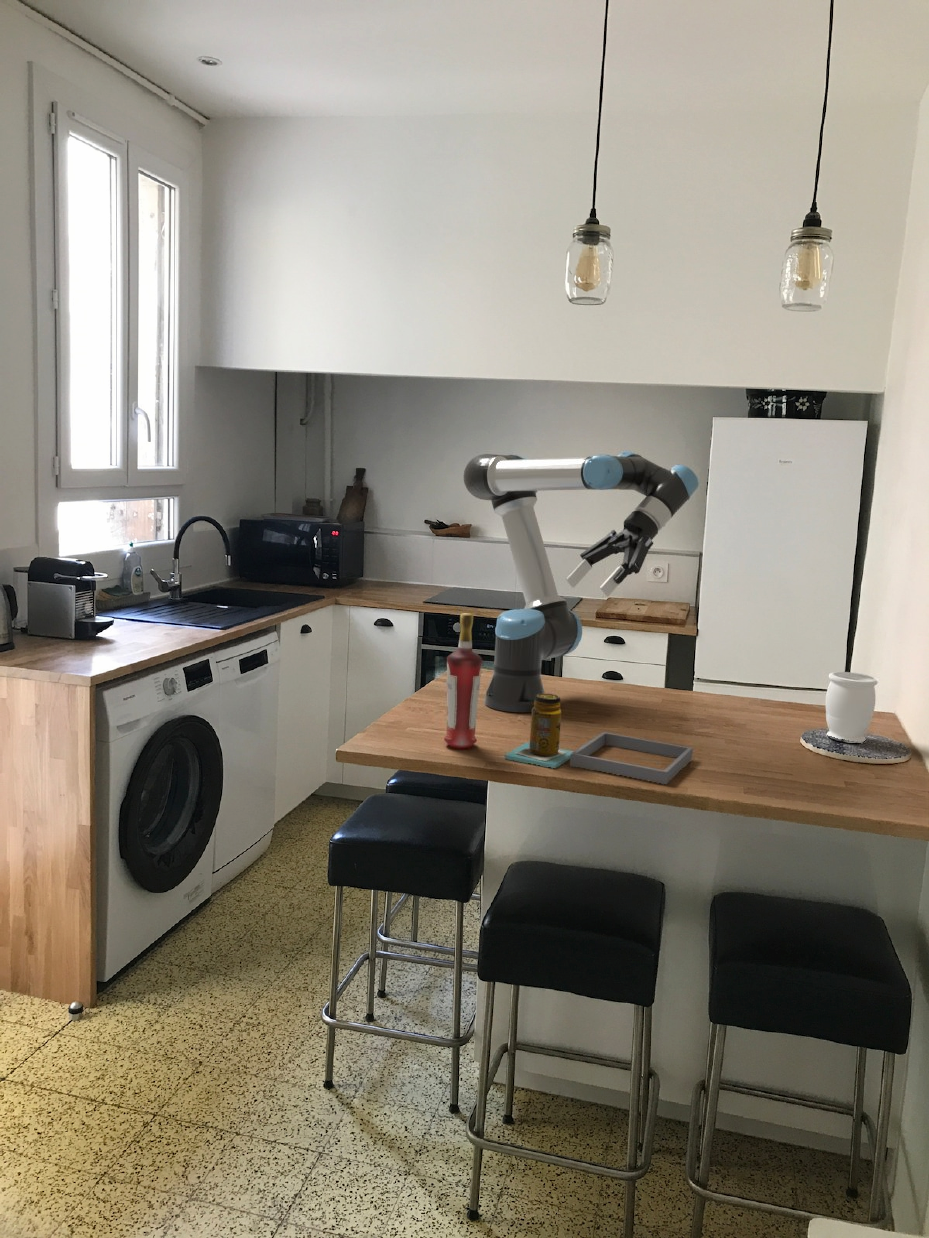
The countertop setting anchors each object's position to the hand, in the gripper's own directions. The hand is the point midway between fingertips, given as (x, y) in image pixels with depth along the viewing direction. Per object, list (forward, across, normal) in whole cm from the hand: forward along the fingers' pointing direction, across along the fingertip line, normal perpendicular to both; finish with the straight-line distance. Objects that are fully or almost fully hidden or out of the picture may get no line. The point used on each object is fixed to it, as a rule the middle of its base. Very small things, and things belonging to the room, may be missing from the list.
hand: (586, 587), depth 215 cm
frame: (+25, -24, -22) cm, 41 cm away
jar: (-18, -25, -64) cm, 71 cm away
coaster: (+36, -15, -10) cm, 41 cm away
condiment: (+36, -15, -10) cm, 40 cm away
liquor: (+45, -3, -1) cm, 45 cm away
